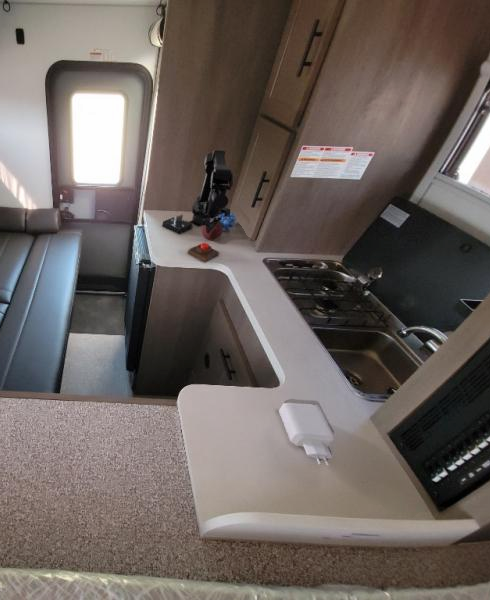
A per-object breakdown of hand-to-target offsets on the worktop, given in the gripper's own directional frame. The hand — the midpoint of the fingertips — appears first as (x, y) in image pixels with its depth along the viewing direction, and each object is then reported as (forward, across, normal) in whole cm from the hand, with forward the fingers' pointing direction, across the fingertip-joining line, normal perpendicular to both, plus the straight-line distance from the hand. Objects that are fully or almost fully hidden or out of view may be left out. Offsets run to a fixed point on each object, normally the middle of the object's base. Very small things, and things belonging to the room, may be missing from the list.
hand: (207, 232), depth 149 cm
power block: (+11, 0, 0) cm, 11 cm away
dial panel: (+12, -12, -27) cm, 32 cm away
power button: (+8, 0, 0) cm, 8 cm away
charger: (+11, +54, +75) cm, 93 cm away
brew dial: (+8, -12, -27) cm, 31 cm away
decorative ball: (+12, -16, -8) cm, 21 cm away
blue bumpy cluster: (+12, -28, -9) cm, 32 cm away
